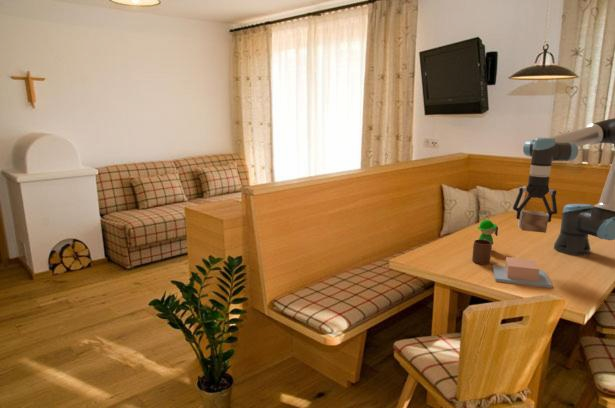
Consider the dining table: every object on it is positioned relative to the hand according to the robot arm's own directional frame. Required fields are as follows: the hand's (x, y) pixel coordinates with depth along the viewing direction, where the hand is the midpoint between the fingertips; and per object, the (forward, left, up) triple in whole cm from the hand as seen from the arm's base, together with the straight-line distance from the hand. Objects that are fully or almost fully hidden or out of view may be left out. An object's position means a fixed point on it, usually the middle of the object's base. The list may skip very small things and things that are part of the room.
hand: (532, 227), depth 181 cm
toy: (+16, -21, -18) cm, 32 cm away
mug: (+18, -4, -18) cm, 26 cm away
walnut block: (0, 0, 0) cm, 0 cm away
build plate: (+4, +12, -18) cm, 22 cm away
